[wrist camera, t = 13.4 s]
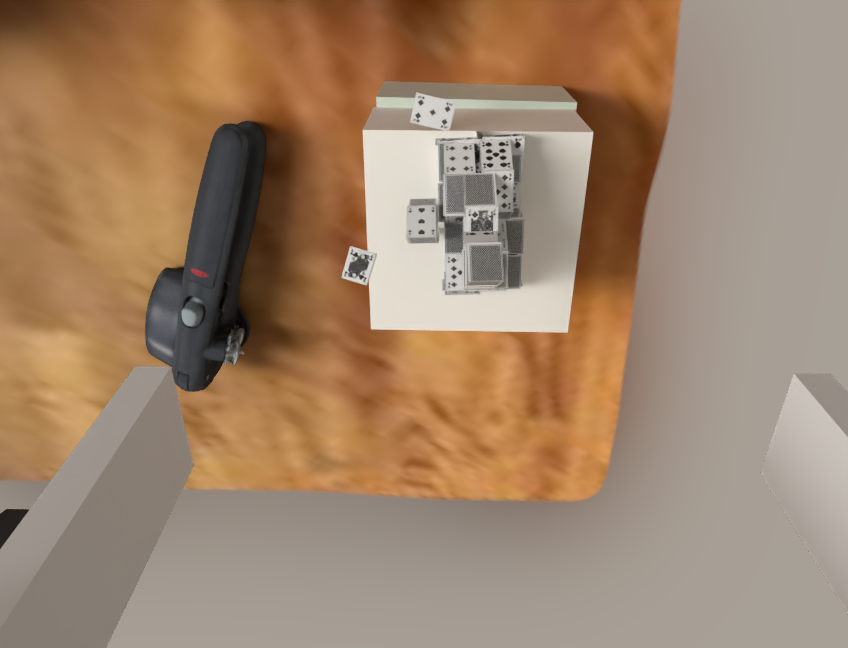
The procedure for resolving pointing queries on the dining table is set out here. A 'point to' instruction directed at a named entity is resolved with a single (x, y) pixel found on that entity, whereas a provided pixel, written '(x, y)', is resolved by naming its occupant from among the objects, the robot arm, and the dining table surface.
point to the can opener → (210, 265)
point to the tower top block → (425, 263)
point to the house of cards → (466, 208)
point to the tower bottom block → (477, 95)
